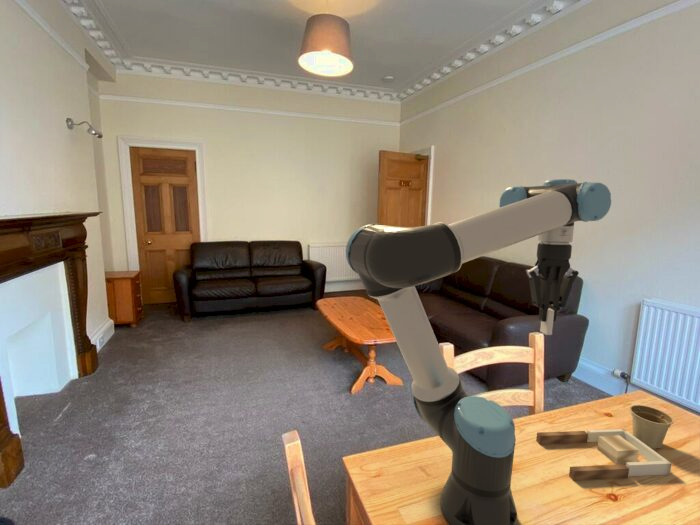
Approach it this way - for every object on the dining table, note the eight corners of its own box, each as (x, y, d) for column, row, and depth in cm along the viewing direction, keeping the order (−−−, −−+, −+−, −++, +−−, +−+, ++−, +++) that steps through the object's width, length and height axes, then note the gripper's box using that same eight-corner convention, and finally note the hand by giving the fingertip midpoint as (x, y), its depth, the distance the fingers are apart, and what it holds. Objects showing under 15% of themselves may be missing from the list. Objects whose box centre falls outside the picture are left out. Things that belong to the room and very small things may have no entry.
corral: (628, 476, 87) (629, 465, 87) (586, 439, 101) (587, 430, 101) (669, 474, 88) (671, 463, 88) (622, 438, 102) (624, 428, 102)
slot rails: (573, 480, 86) (574, 471, 85) (536, 440, 101) (537, 432, 100) (627, 478, 87) (629, 468, 87) (583, 438, 102) (584, 430, 101)
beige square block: (615, 465, 91) (617, 451, 91) (597, 449, 97) (598, 436, 97) (637, 463, 92) (639, 449, 92) (617, 448, 98) (618, 435, 98)
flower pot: (677, 456, 95) (682, 426, 94) (637, 450, 97) (641, 421, 96) (655, 434, 104) (659, 407, 103) (619, 430, 106) (622, 403, 105)
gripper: (538, 244, 86) (530, 338, 89) (590, 244, 87) (579, 337, 90) (521, 241, 93) (514, 328, 96) (569, 241, 94) (560, 328, 97)
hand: (545, 333), depth 93 cm, fingers closed
